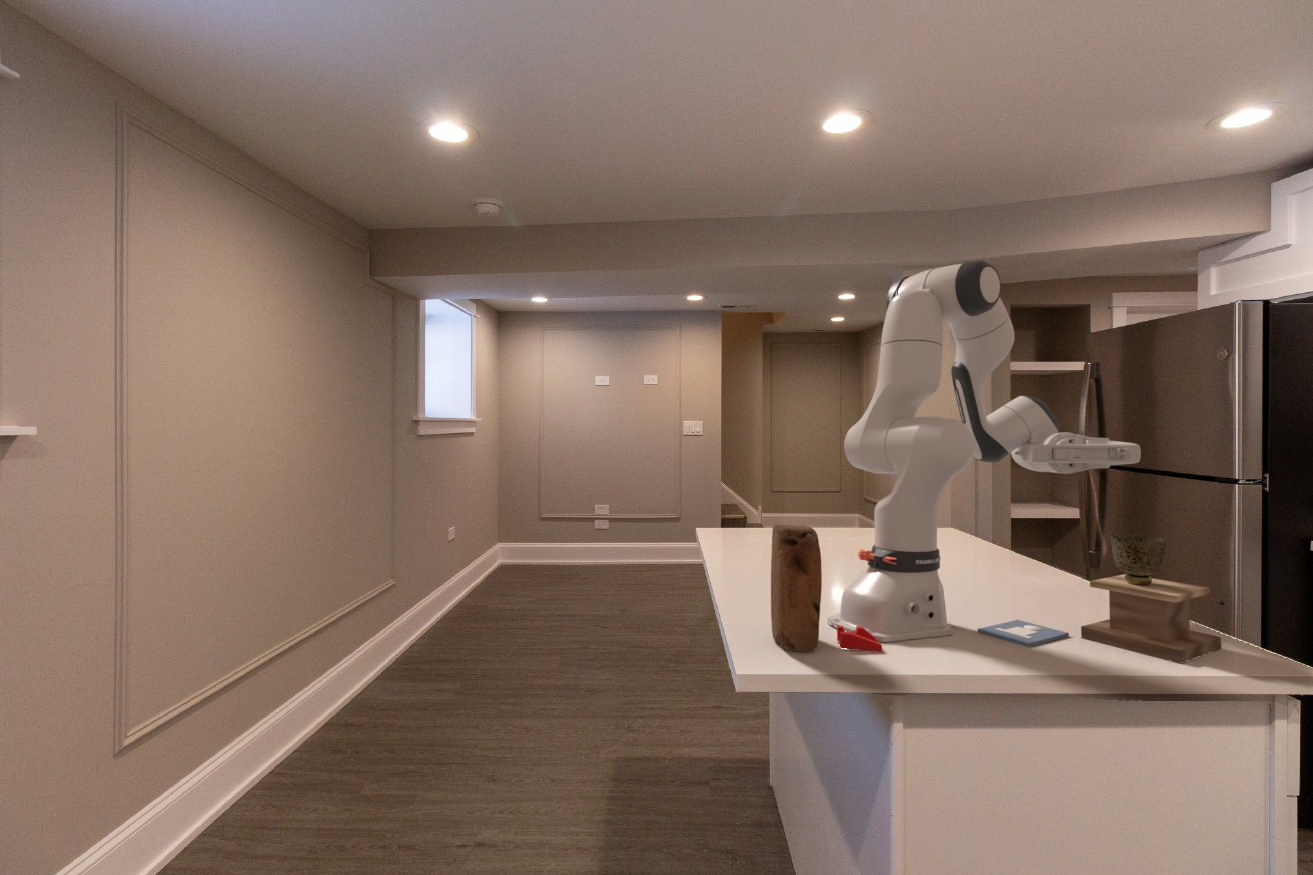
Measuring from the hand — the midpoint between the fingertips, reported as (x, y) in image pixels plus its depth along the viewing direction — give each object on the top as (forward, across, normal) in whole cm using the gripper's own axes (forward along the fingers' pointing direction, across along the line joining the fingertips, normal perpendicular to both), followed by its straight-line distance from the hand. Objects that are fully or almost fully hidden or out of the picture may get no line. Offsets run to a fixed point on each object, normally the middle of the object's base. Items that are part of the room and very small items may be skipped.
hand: (1102, 453), depth 114 cm
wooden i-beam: (+13, 0, +32) cm, 34 cm away
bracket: (+20, -50, +32) cm, 63 cm away
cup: (+13, -2, +22) cm, 26 cm away
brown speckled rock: (+20, -60, +32) cm, 71 cm away
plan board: (+10, -19, +32) cm, 39 cm away
